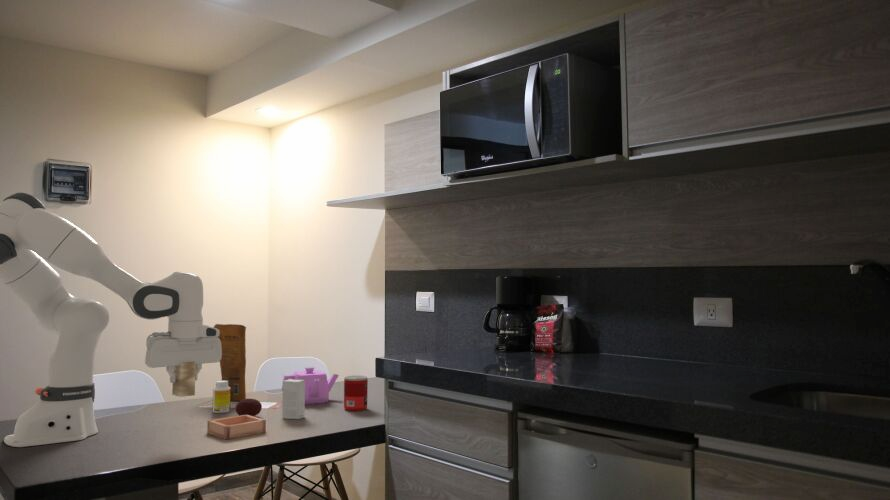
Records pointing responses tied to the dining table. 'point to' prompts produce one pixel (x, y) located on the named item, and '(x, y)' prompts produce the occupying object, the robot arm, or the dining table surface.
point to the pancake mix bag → (233, 358)
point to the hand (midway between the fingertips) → (183, 381)
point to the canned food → (355, 393)
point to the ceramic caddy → (236, 426)
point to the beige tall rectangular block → (184, 380)
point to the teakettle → (314, 384)
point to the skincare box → (293, 399)
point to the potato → (248, 407)
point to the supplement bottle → (221, 397)
